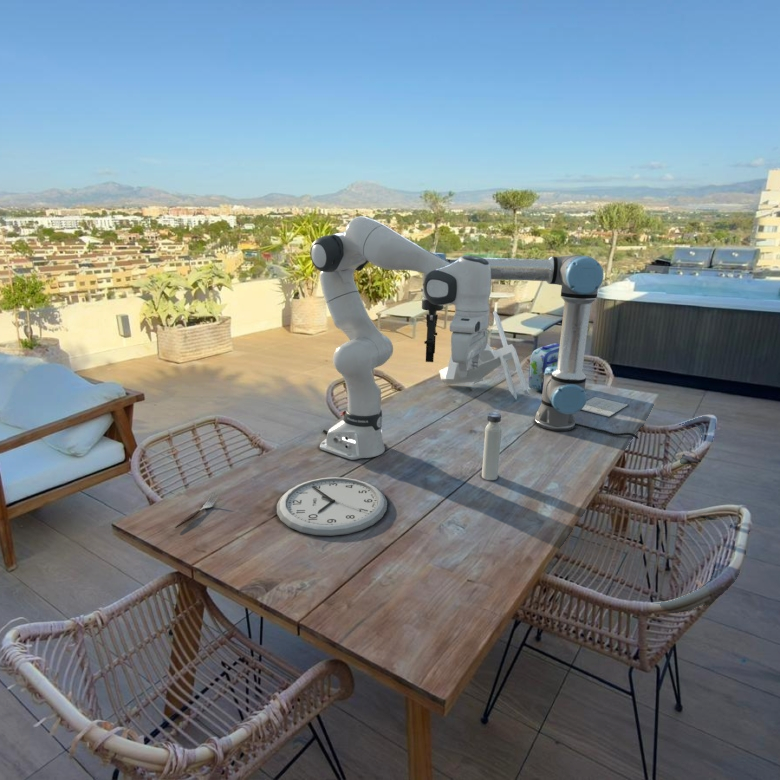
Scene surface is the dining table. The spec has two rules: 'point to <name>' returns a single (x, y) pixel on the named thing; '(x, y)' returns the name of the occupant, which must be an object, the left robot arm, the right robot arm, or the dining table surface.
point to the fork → (206, 505)
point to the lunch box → (542, 364)
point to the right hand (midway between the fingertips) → (430, 357)
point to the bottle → (491, 451)
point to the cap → (494, 417)
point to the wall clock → (331, 506)
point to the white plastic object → (488, 364)
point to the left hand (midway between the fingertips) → (469, 372)
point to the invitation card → (603, 406)
